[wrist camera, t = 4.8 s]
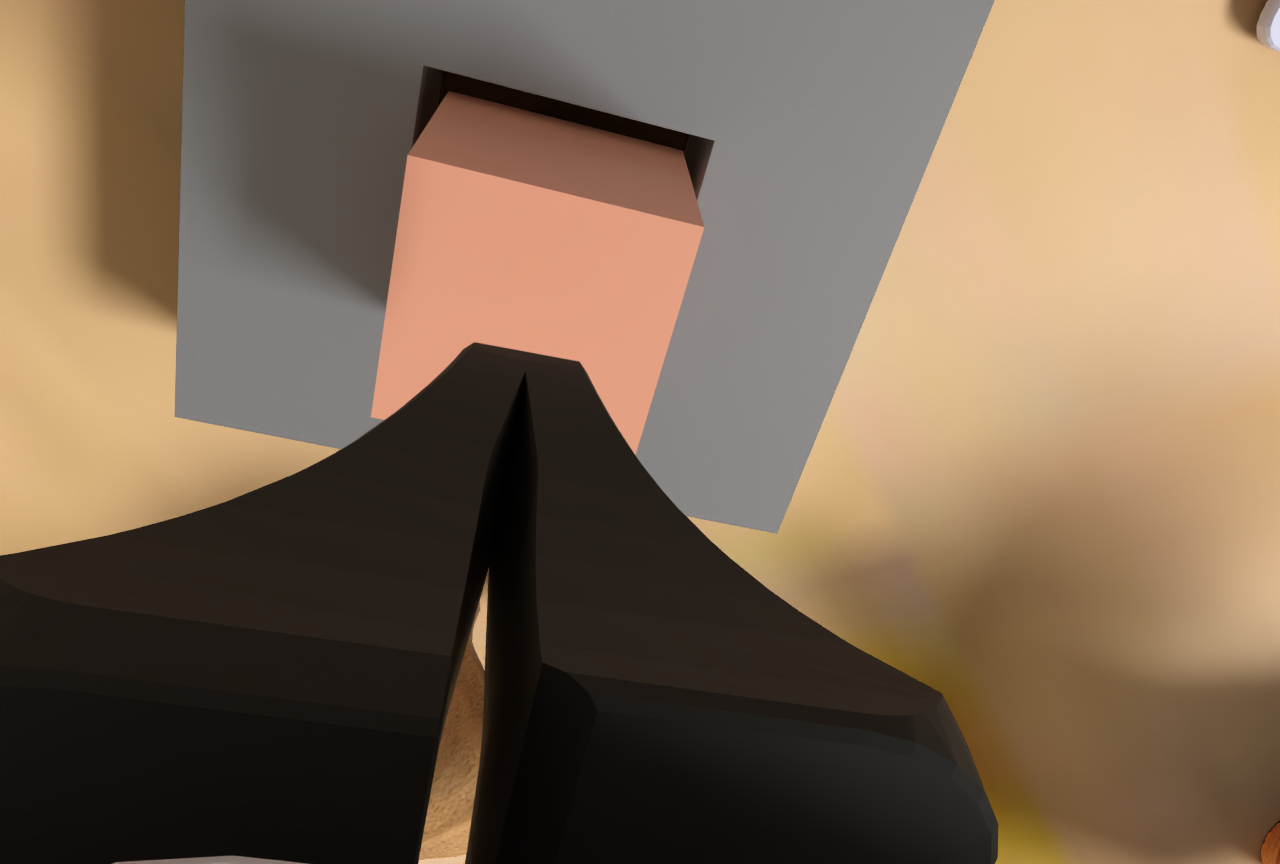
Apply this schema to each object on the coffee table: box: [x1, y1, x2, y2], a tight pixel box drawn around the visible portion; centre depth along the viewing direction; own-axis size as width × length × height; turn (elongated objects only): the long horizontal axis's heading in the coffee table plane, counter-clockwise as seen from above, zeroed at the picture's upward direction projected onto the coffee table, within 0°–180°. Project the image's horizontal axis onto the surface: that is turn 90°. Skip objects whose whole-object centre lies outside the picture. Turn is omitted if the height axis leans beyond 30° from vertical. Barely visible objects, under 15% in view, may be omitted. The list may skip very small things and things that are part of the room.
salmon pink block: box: [371, 91, 704, 455], centre depth 16 cm, size 4×4×4 cm
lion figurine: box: [419, 603, 485, 860], centre depth 22 cm, size 15×5×9 cm, turn 136°
